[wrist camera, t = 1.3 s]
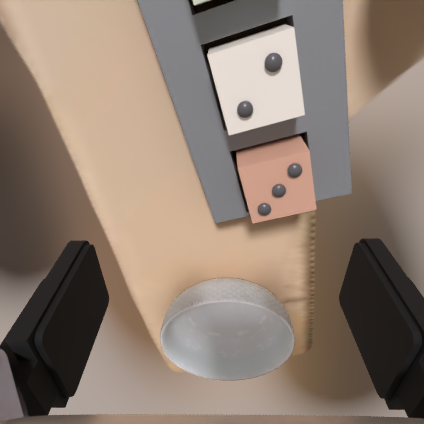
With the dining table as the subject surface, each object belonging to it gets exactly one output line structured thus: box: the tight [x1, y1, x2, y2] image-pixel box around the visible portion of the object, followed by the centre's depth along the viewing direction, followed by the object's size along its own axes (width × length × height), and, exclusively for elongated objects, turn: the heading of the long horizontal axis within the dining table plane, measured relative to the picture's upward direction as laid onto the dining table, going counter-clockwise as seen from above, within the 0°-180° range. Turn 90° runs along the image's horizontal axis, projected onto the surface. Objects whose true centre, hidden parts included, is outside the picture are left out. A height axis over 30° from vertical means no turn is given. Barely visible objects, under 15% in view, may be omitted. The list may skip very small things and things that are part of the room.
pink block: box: [236, 134, 317, 223], centre depth 29 cm, size 6×6×4 cm
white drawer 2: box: [207, 24, 305, 135], centre depth 24 cm, size 6×6×4 cm
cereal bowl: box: [160, 278, 295, 380], centre depth 42 cm, size 17×17×7 cm
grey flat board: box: [137, 0, 352, 223], centre depth 26 cm, size 14×26×3 cm, turn 16°
